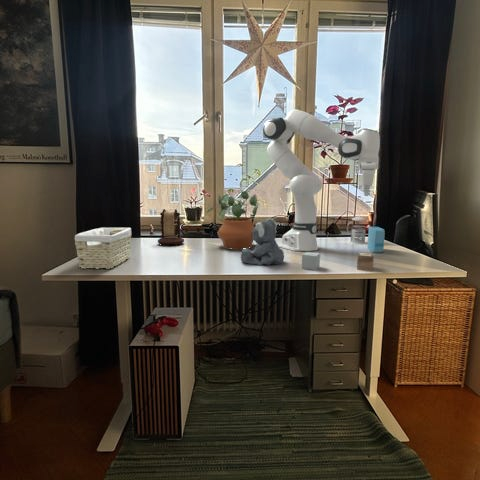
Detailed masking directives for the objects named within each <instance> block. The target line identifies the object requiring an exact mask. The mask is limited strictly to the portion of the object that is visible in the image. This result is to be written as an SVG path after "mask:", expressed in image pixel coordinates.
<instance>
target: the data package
mask: <svg viewBox="0 0 480 480" xmlns="http://www.w3.org/2000/svg"><path fill="white" fill-rule="evenodd" d="M368 227H369V228H368V234H367V235H368V237H367V249H368V250H369V251H371V252H372V253H377V254H378V253H382V254H383V253H384V248H385V247H384V246H385V234H386V233H385V232H386V231H385V229H384V228H381V227H379V226H368Z"/></svg>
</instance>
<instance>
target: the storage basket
mask: <svg viewBox="0 0 480 480" xmlns="http://www.w3.org/2000/svg"><path fill="white" fill-rule="evenodd" d="M131 241H132V228H131V227H99V228H94V229H90V230H87V231H82V232H79V233H77V234H75V235H74V245H75V248H76V254H77V255H76V256H77V262H78V267H81V268H80V269H83V267H84V269H86V268H106V270H111V269H113V268H115V267H117V266H119V265H120V264H122V263H124V262H126V261H127V260H129V259H130V258H131ZM129 257H130V258H129ZM126 259H127V260H126ZM123 261H124V262H123ZM121 262H122V263H121ZM114 266H115V267H114ZM110 268H111V269H110Z"/></svg>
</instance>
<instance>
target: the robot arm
mask: <svg viewBox="0 0 480 480" xmlns="http://www.w3.org/2000/svg"><path fill="white" fill-rule="evenodd" d="M262 133H263V135H264V137H266V138H267V139H268V140H271V141H270V143H269V144H268V146H267V148H266V152H267V154H268V157H269V158H270V159H271V161H272V162H273V165H275V166H276V167H277V169H278V170H279V171H280V172H281V173H282V175H283V176H285V177H286V178H287V179H289V180H290V183H289V189H290V191H291V193H292V197H293V202H294V207H295V208H294V211H295V212H294V222H292V223H290V225H291V226H292V227H291V229H290V230H288V231H287V232H285V233H284V234H283V235H282V238H281V242H280V243H277V244H278V247H279V248H280V249H286V250H289V251H292V252H300V251H301V252H311V251H317V250H318V249H319V247H318V240H317V231H318V230H317V229H318V223H317V211H318V210H317V206H316V203H315V197H314V196H315V195H317V194H318V193H319V192H320V191H321V190H322V188H323V181H322V179H321V177H320V176H317V174H315V173H314V172H313V171H312V170H311V169H310V168H309V167H308V166H306V165H305V163H303V162H302V161H301V159H299V158H298V157H297V155H296V154H295V153H294V152H293V151H292V149H290V147H289V146H288V144H290V142H291V141H292V139H293V137H294V136H295V134H297V135H299V136H300V137H302V138H304V139H309V140H311V141H317V142H323V143H326V144H330V145H331V146H333V147H335V148H337V151H338V154H339V156H340V157H342V158H344V159H347V160H352V161H358V163H357V170H360V174H362V184H361V186H363V187H364V190H363V195H364V197H368V196H369V192H370V187H372V186H373V183H374V178H375V173H376V170H379V160H380V157H379V153H380V152H379V151H380V146H381V145H380V144H381V142H380V140H381V138H380V136H381V135H380V132H378V131H377V130H373V129H368V128H365V129H362V130H360V132H358V133H357V134H354V135H351V136H349V137H346V136H344V135H342V134H340V133H339V132H336V131H335V130H333V129H332V128H330V127H329V126H328V125H327V124H325V123H324V122H323V121H322V120H321V119H320V118H318V117H316V116H314V115H313V114H310V113H308V112H306V111H303V110H300V109H296V108H295V109H292V110H290V111H289V112H288V113H287V115H286V116H285V117H284V118H283V117H274V118H269V119H268V120H266V121H265V122H264V124H263V126H262Z"/></svg>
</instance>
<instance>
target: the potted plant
mask: <svg viewBox="0 0 480 480" xmlns="http://www.w3.org/2000/svg"><path fill="white" fill-rule="evenodd" d="M240 196H241V198H238V197H237V198H234V197H233V196H232V195H229V193H225V194H224V195H223V196H222V197H221V195H220V194H218V197H217V198H218V199H217V200H218V204H219V206H220V212H219V211H218V210H216V209H215V208H216V205H215V206H213V207H211V208H210V209H208V210H207V211H206V213H209V212H211V211H213V210H215V211H216V212H217V213H219V214H218V217H219V219H223V222H222V225H221V226H220V228H219V229H218V230H217V236H218V238H219V239H220V240H221V242H222V245H223V246H224V247H226V248H225V249H227V248H232V249H231V250H243V248H248V249H250V248H249V247H251V246H252V247H253V242H254V239H253V237H252V236H251V233H252V232H253V231H254V229H255V227H256V226H254V224H253V220H252V218H249V217H241V216H242V215H243V214H246V213H247V210H248V209H250V207H248V206H249V205H250V206H252V207H253V209H252V214H253V216H256V214H257V211H258V208H259V202H258V198H257V195H256V194H255V193H254V194H253V195H252V196H249V193H248V192H247V191H241V192H240ZM242 199H244V201H243V202H242ZM248 199H249V200H248ZM247 200H248V201H249V204H248V205H245V207H244V208H242V207H243V206H244V204H245V202H246V201H247ZM230 207H231V212H229V211H228V209H230ZM247 207H248V208H247ZM246 208H247V209H246ZM227 212H228V213H230V214H232V216H231V215H229V217H227V216H226V214H228V213H227ZM224 217H225V218H224ZM224 247H223V248H224ZM252 247H251V248H252Z"/></svg>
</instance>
